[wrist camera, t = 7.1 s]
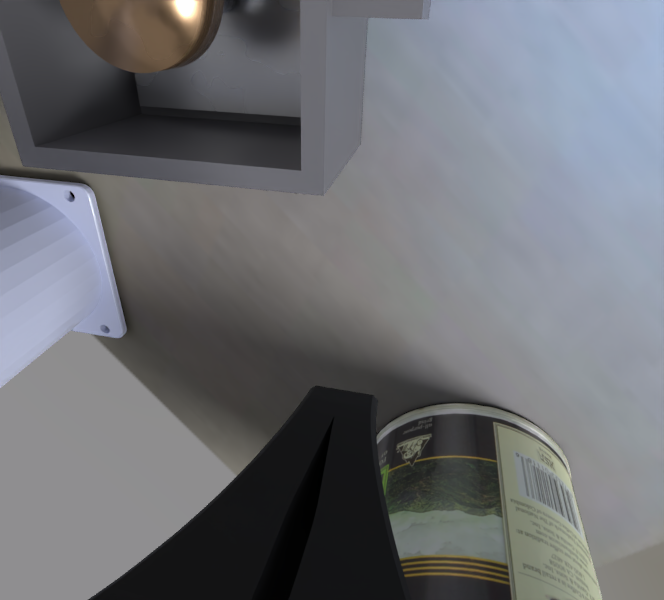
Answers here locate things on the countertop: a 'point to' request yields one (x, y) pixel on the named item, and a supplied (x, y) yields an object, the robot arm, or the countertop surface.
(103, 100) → the grey open box
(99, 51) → the plunger
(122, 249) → the countertop surface
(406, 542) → the coffee can
